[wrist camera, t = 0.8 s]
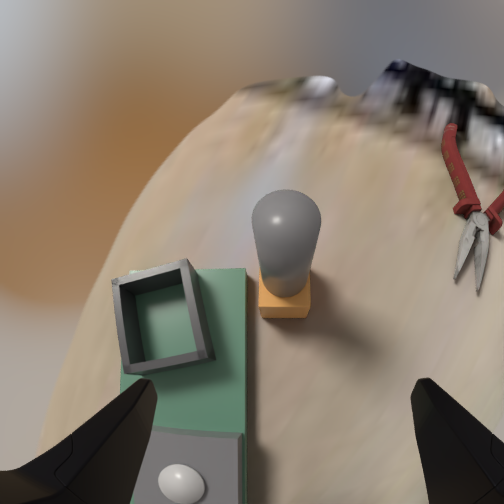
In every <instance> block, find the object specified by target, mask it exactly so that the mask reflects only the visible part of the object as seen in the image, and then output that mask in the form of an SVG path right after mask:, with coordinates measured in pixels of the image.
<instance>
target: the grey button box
mask: <svg viewBox="0 0 504 504" xmlns="http://www.w3.org/2000/svg"><path fill="white" fill-rule="evenodd" d="M133 494H134V504H242V433H239V432H216V431H202V430H190V429H180V428H171V427H163V426H156V425H153V426H152V431H151V436H150V440H149V443H148V446H147V449H146V452H145V456H144V459H143V462H142V465H141V468H140V472H139V475H138V478H137V482H136V485H135V488H134V492H133Z"/></svg>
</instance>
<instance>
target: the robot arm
mask: <svg viewBox="0 0 504 504" xmlns="http://www.w3.org/2000/svg"><path fill="white" fill-rule="evenodd" d="M157 400H158V396H157V392H156V389H155V387H154V384H153V382H152V380H151V379H146V378H140V379H138V380H137V381H135V382H134V383H133V384H132V385H131V386H129V387H128V388H127V389H126V390H125V391H123V392H122V393H121V394H120V395H118V396H117V397H116V398H115V399H114V400H112V401H111V402H110V403H109V404H107V405H106V406H105V407H104V408H102V409H101V410H100V411H99V412H98V413H96V414H95V415H94V416H93V417H91V418H90V419H89V420H88V421H86V422H85V423H84V424H83V425H81V426H80V427H79V428H78V429H76V430H75V431H74V432H73V433H72V434H70V435H69V436H67V437H66V438H65V439H64V440H62V441H61V442H60V443H58V444H57V445H56V446H54V447H53V448H51V449H50V450H48V451H46V452H45V453H43V454H42V455H40V456H38V457H37V458H35V459H33V460H32V461H30V462H28V463H27V464H25V465H23V466H21V467H20V468H17V469H14V470H9V471H0V504H130V502H131V498H132V495H133V492H134V488H135V485H136V482H137V478H138V475H139V472H140V468H141V465H142V462H143V459H144V456H145V452H146V449H147V446H148V443H149V440H150V436H151V431H152V426H153V421H154V416H155V410H156V405H157ZM411 405H412V412H413V420H414V428H415V435H416V440H417V445H418V449H419V454H420V458H421V463H422V468H423V473H424V478H425V483H426V488H427V494H428V500H429V504H504V443H503V442H502V441H501V440H500V439H499V438H497V437H496V436H495V435H494V434H492V432H491V431H490V430H488V429H487V428H486V427H485V426H484V425H483V424H482V423H481V422H479V421H478V420H477V419H476V418H475V417H474V416H473V415H472V414H470V413H469V412H468V411H467V410H466V409H465V408H464V407H463V406H461V405H460V404H459V403H458V402H457V401H456V400H455V399H453V398H452V397H451V396H450V395H449V394H448V393H447V392H445V391H444V390H443V389H442V388H441V387H440V386H439V385H437V384H436V383H435V382H434V381H433V380H432V379H430V378H421V379H418V380H417V382H416V385H415V387H414V389H413V391H412V394H411Z"/></svg>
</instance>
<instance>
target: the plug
mask: <svg viewBox="0 0 504 504" xmlns="http://www.w3.org/2000/svg"><path fill="white" fill-rule="evenodd" d="M252 226H253V232H254V238H255V243H256V249H257V254H258V260H259V265H260V272H259V310H260V313H261V317H262V318H306V317H307V314H308V312H309V309H310V307H311V299H310V268H311V264H312V260H313V256H314V252H315V248H316V243H317V239H318V235H319V231H320V227H321V214H320V211H319V209H318V207H317V205H316V204H315V202H314V201H313V200H312V199H311V198H309V197H308V196H307V195H305V194H303V193H301V192H298V191H294V190H278V191H274V192H271V193H269V194H267V195H266V196H264V197H263V198H262V199H261V200H260V201H259V202H258V203H257V204H256V206H255V208H254V210H253V213H252Z"/></svg>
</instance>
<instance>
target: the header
mask: <svg viewBox="0 0 504 504" xmlns="http://www.w3.org/2000/svg"><path fill="white" fill-rule="evenodd" d="M182 283H183V286H184V291H185V297H186V302H187V307H188V312H189V317H190V322H191V326H192V331H193V336H194V340H195V345H196V349H197V351H194V352H190V353H185V354H181V355H176V356H171V357H166V358H161V359H156V360H151V361H146V360H145V355H144V350H143V344H142V338H141V332H140V326H139V319H138V312H137V305H136V298H135V296H136V295H140V294H144V293H148V292H152V291H156V290H159V289H163V288H167V287H171V286H174V285H178V284H182ZM112 290H113V300H114V309H115V318H116V326H117V333H118V340H119V347H120V353H121V359H122V365H123V370H124V374H129V375H140V376H142V375H148V374H153V373H159V372H164V371H169V370H174V369H179V368H184V367H189V366H194V365H199V364H203V363H208V362H212V361H216V356H215V352H214V348H213V344H212V339H211V335H210V331H209V326H208V322H207V317H206V313H205V308H204V304H203V299H202V294H201V290H200V285H199V280H198V275H197V272H196V270H195V269H194V268H193V266H192V265H191V264H190V262H189V261H188V259H187V258H186V259H183V260H179V261H175V262H172V263H168V264H165V265H161V266H158V267H154V268H150V269H147V270H143V271H140V272H136V273H133V274H129V275H126V276H122V277H119V278H115V279H112Z"/></svg>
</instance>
